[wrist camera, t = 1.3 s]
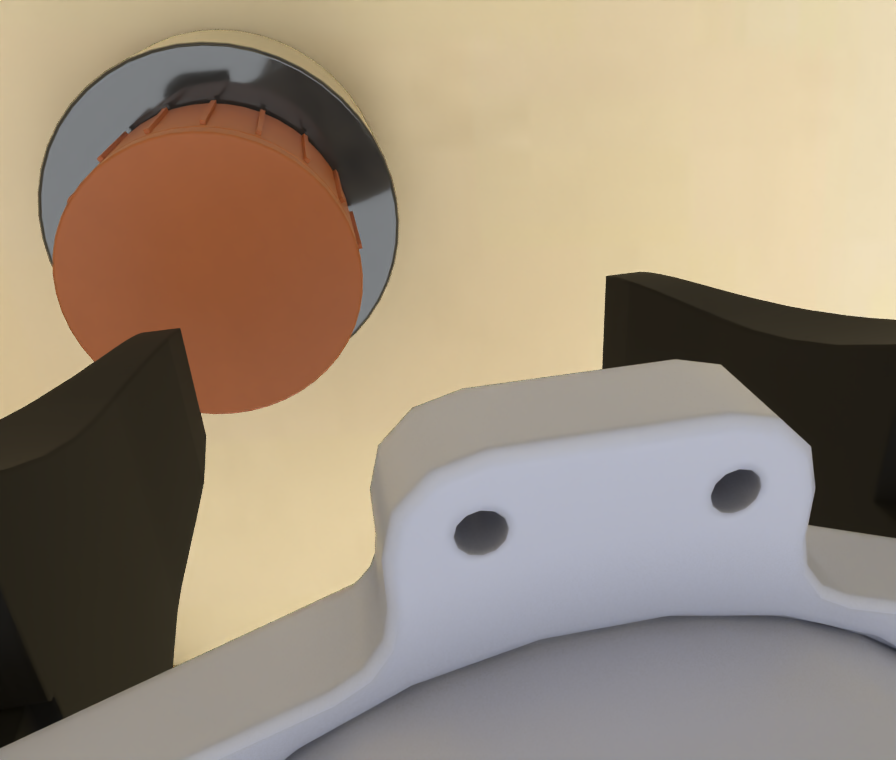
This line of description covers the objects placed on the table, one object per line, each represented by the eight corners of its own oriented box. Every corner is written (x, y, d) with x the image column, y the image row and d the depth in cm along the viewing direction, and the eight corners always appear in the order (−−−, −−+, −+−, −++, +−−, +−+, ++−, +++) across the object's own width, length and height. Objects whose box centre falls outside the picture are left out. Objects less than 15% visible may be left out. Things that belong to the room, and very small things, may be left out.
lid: (226, 391, 20) (215, 466, 17) (29, 217, 17) (-25, 270, 14) (403, 247, 19) (425, 298, 16) (225, 38, 16) (211, 54, 13)
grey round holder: (234, 372, 24) (216, 509, 18) (10, 169, 20) (-110, 254, 14) (438, 205, 23) (493, 291, 17) (239, -44, 19) (216, -52, 13)
